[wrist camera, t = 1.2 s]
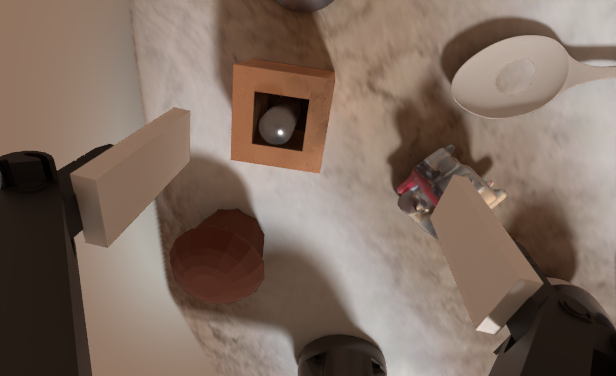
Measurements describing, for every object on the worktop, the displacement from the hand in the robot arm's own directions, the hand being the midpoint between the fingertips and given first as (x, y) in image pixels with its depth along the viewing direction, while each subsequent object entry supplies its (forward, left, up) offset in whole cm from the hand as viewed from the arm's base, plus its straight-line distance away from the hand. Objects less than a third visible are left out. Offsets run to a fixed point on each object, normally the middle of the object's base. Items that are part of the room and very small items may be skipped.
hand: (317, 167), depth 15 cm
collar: (-2, +4, -21) cm, 22 cm away
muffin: (-21, +10, -21) cm, 31 cm away
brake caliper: (-9, -15, -21) cm, 28 cm away
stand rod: (-2, +4, -21) cm, 21 cm away
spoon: (+7, -29, -22) cm, 37 cm away
